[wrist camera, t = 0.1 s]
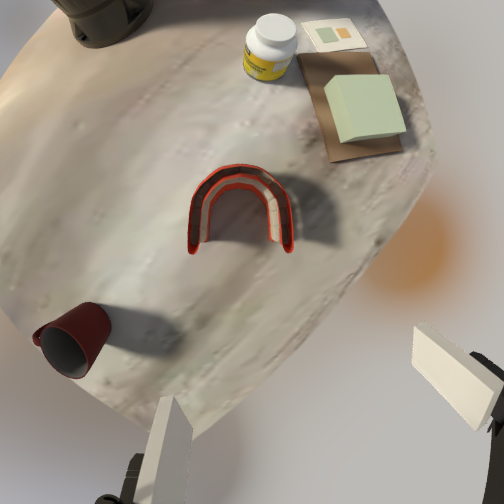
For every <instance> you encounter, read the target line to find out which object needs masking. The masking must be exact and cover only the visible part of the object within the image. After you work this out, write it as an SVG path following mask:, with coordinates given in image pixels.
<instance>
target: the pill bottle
mask: <svg viewBox="0 0 504 504" xmlns="http://www.w3.org/2000/svg"><path fill="white" fill-rule="evenodd" d="M296 31H297V28H296V25H295V23H294V22H293V21H292V20H291V19H290V18H288V17H286V16H284V15H281V14H275V13H271V14H266V15H263V16H262V17H260V18H259V19H258V20H257V22H256V25H255V26H253V27H252V28H251V29H250V30H249V31H248V33H247V36H246V42H245V50H244V58H243V67H244V70H245V72H246V73H247V74H248V76H250V77H251V78H252V79H254V80H256V81H260V82H273V81H276V80H278V79H279V78H281V77H282V76H283V75H284V73H285V71H286V69H287V67H288V65H289V63H290V61H291V59H292V57H293V56H294V54H295V52H296V49H297V45H298V42H297V38H296Z"/></svg>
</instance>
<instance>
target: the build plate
mask: <svg viewBox="0 0 504 504" xmlns="http://www.w3.org/2000/svg"><path fill="white" fill-rule="evenodd" d="M297 59H298V62H299V64H300V67H301V70H302V72H303V75H304V78H305V81H306V84H307V87H308V90H309V93H310V96H311V99H312V102H313V105H314V108H315V111H316V115H317V118H318V121H319V125H320V128H321V131H322V135H323V139H324V142H325V146H326V150H327V153H328V157H329V161H330V162H336V161H341V160H347V159H352V158H358V157H364V156H370V155H377V154H383V153H390V152H398V151H402V148H401V144H400V140H399V136H398V134H396V135H393V136H390V137H382V138H374V139H366V140H359V141H352V142H345V143H340V139H339V135H338V132H337V128H336V125H335V122H334V118H333V115H332V112H331V109H330V105H329V102H328V99H327V96H326V93H325V90H324V87H325V86H326V85H327V84H328V83H329V81H330V80H331V79H332V78H333V77H334V76H335V75H379V74H378V72H377V69H376V67H375V64H374V62H373V60H372V57H371V55H370V53H369V52H317V53H301V54H298V56H297Z"/></svg>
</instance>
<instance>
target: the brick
mask: <svg viewBox="0 0 504 504" xmlns="http://www.w3.org/2000/svg"><path fill="white" fill-rule="evenodd" d="M324 90H325V93H326V96H327V99H328V102H329V105H330V109H331V112H332V115H333V118H334V122H335V125H336V128H337V132H338V135H339V139H340V143H345V142H352V141H359V140H366V139H374V138H382V137H390V136H393V135H396V134H400V133H403V132H407V131H406V127H405V124H404V120H403V117H402V114H401V110H400V107H399V104H398V101H397V98H396V95H395V92H394V89H393V87H392V84H391V81H390V79H389V76H388V75H335V76H334V77H333V78H332V79H331V80H330V81H329V83H328V84H327V85H326V86H325V87H324Z"/></svg>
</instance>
